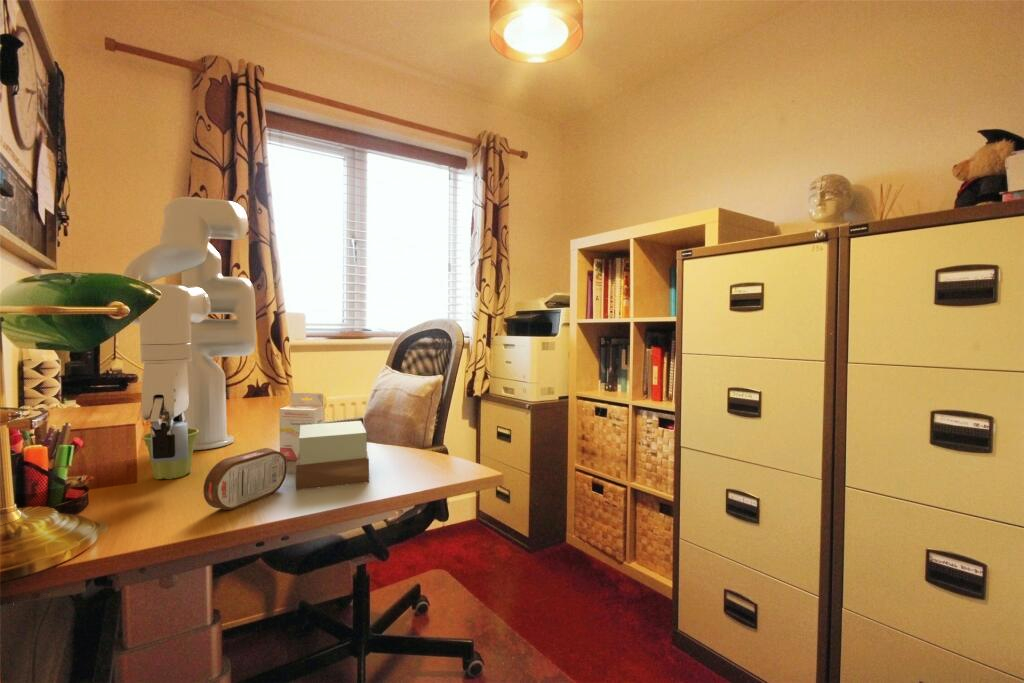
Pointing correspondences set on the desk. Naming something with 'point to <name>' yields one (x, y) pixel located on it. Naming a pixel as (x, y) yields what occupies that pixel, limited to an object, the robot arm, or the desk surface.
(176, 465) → the plant pot
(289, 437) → the ink cartridge box
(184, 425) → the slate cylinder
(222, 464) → the tin
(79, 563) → the desk surface
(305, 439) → the sage top block
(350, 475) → the walnut base block
